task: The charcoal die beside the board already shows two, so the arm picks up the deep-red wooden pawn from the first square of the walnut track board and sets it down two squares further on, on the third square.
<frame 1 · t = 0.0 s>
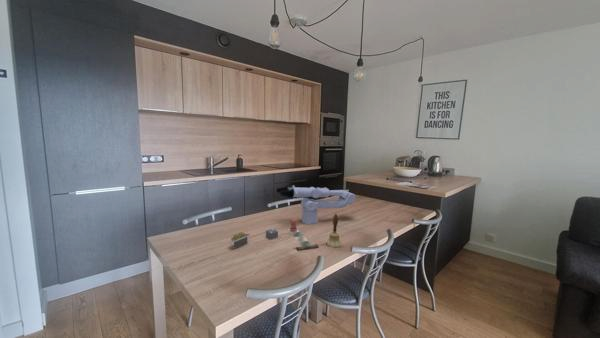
hand: (278, 191, 143), 22 cm above the table, tool horizontal, fingers open, 7 cm apart
pawn: (293, 230, 140), point 1 cm above the table, touching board
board: (299, 238, 131), on the table
potted plant: (239, 246, 122), on the table
die: (271, 239, 130), on the table
hand bell: (333, 244, 127), on the table
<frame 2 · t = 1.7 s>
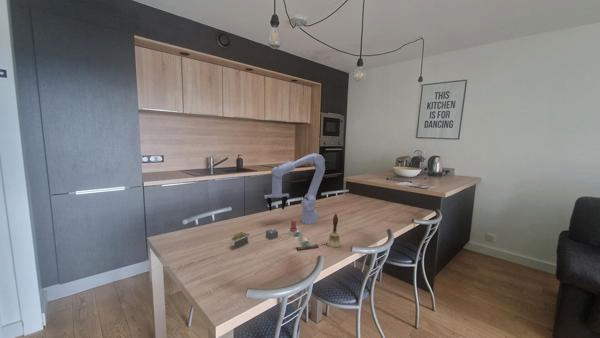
hand: (276, 209, 146), 10 cm above the table, tool pointing down, fingers open, 7 cm apart
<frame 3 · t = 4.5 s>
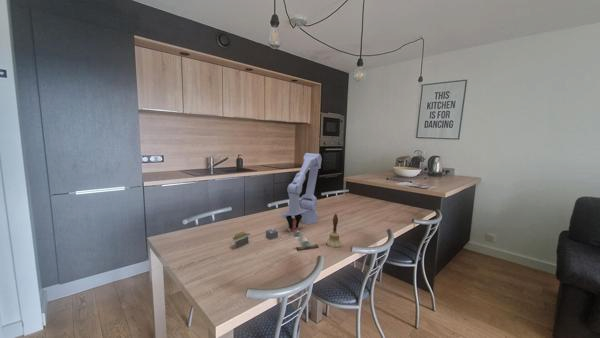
hand: (293, 227, 139), 3 cm above the table, tool pointing down, fingers closed on pawn, 3 cm apart
pawn: (293, 230, 140), point 1 cm above the table, touching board, gripper
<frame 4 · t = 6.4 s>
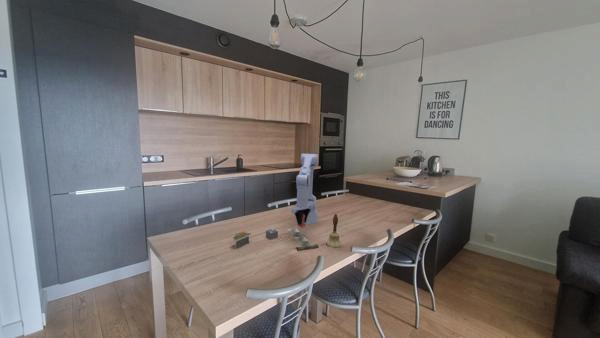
hand: (301, 223, 127), 10 cm above the table, tool pointing down, fingers closed on pawn, 3 cm apart
pawn: (301, 225, 128), point 8 cm above the table, touching gripper
when the fingers open (4 cm above the table, at t = 8.3 s): pawn drops 1 cm, resting on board.
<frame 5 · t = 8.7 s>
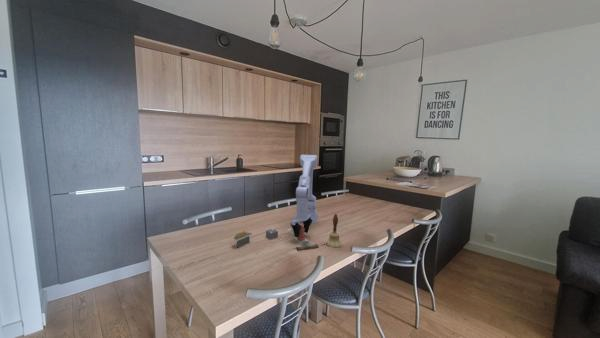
hand: (301, 234, 128), 4 cm above the table, tool pointing down, fingers open, 7 cm apart
pawn: (301, 238, 129), point 1 cm above the table, touching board
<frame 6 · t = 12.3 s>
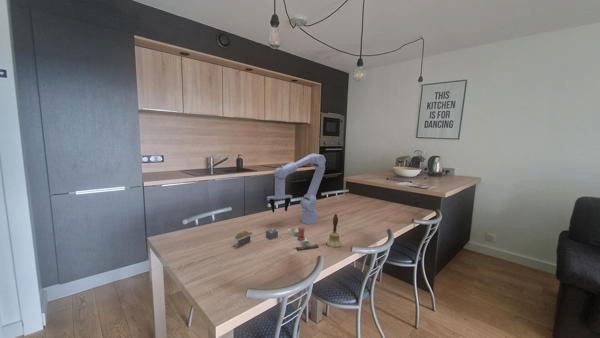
hand: (279, 211, 143), 10 cm above the table, tool pointing down, fingers open, 7 cm apart
at the end: pawn 0.1 cm from the target spot on the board, point 1.2 cm above the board's base; pawn tilted 0°; the gripper is holding nothing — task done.
